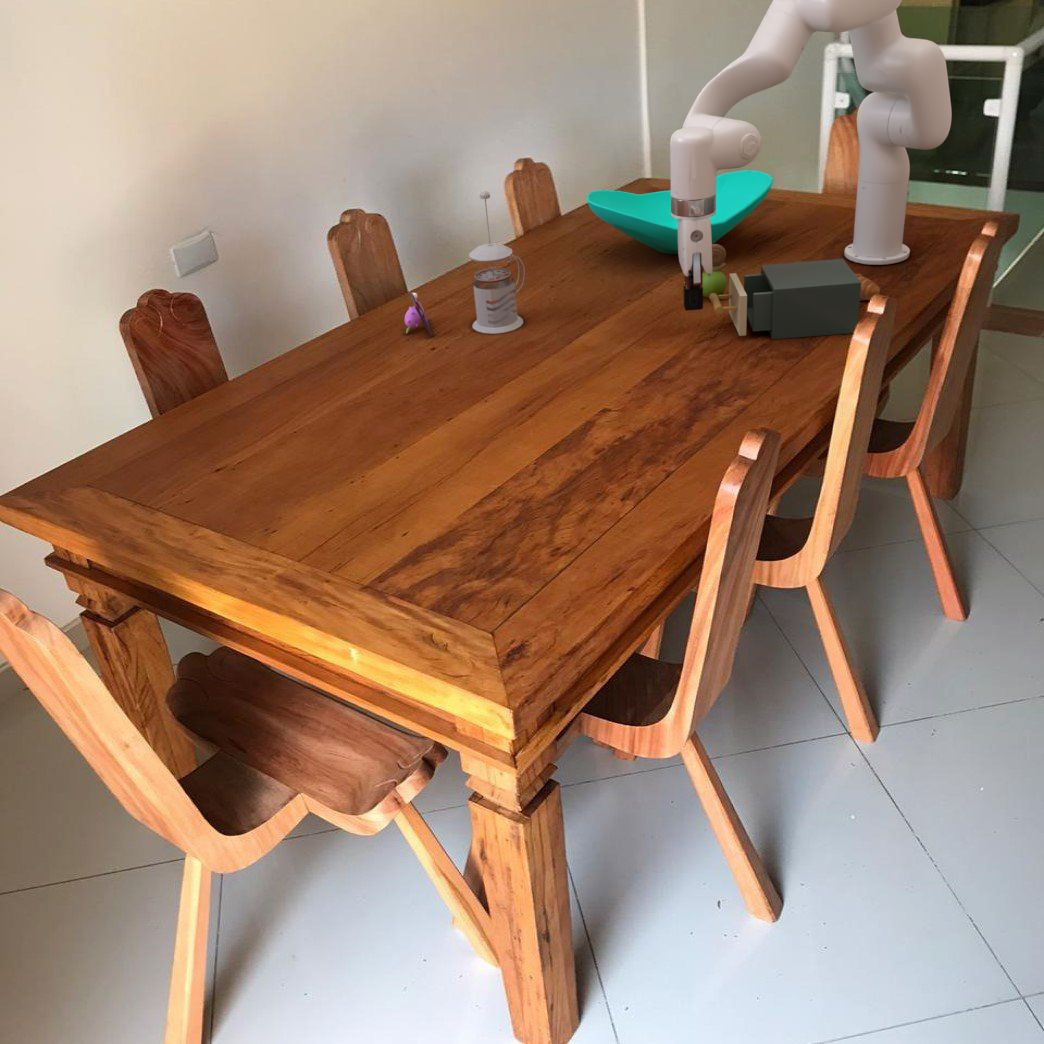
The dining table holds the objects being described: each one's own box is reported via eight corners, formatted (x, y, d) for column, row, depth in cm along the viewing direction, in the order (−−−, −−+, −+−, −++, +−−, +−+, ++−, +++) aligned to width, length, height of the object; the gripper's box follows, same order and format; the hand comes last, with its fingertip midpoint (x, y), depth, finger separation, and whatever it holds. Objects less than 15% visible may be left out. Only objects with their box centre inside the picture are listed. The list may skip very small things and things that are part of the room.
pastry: (886, 294, 205) (888, 274, 203) (867, 306, 201) (869, 286, 199) (842, 285, 211) (843, 265, 209) (822, 296, 207) (823, 276, 205)
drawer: (716, 337, 192) (717, 297, 188) (707, 313, 202) (707, 275, 198) (817, 329, 191) (819, 289, 187) (803, 306, 201) (805, 267, 197)
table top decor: (745, 219, 250) (747, 159, 243) (793, 255, 227) (796, 191, 220) (575, 243, 246) (572, 183, 239) (606, 283, 222) (603, 217, 215)
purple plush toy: (420, 304, 202) (414, 288, 209) (395, 317, 202) (390, 301, 210) (436, 335, 205) (430, 318, 213) (412, 347, 206) (406, 330, 213)
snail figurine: (690, 294, 213) (690, 233, 207) (722, 291, 213) (723, 230, 207) (696, 304, 208) (696, 242, 202) (729, 300, 209) (730, 238, 202)
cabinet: (772, 339, 191) (774, 289, 187) (759, 313, 202) (760, 265, 197) (857, 332, 191) (861, 282, 186) (839, 306, 202) (842, 258, 197)
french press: (462, 324, 210) (446, 193, 197) (510, 307, 215) (498, 178, 202) (491, 337, 203) (477, 202, 190) (541, 319, 208) (530, 187, 195)
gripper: (722, 216, 179) (720, 322, 189) (709, 191, 192) (708, 292, 201) (676, 219, 179) (676, 325, 189) (666, 194, 192) (667, 295, 202)
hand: (693, 308), depth 195 cm, fingers closed
